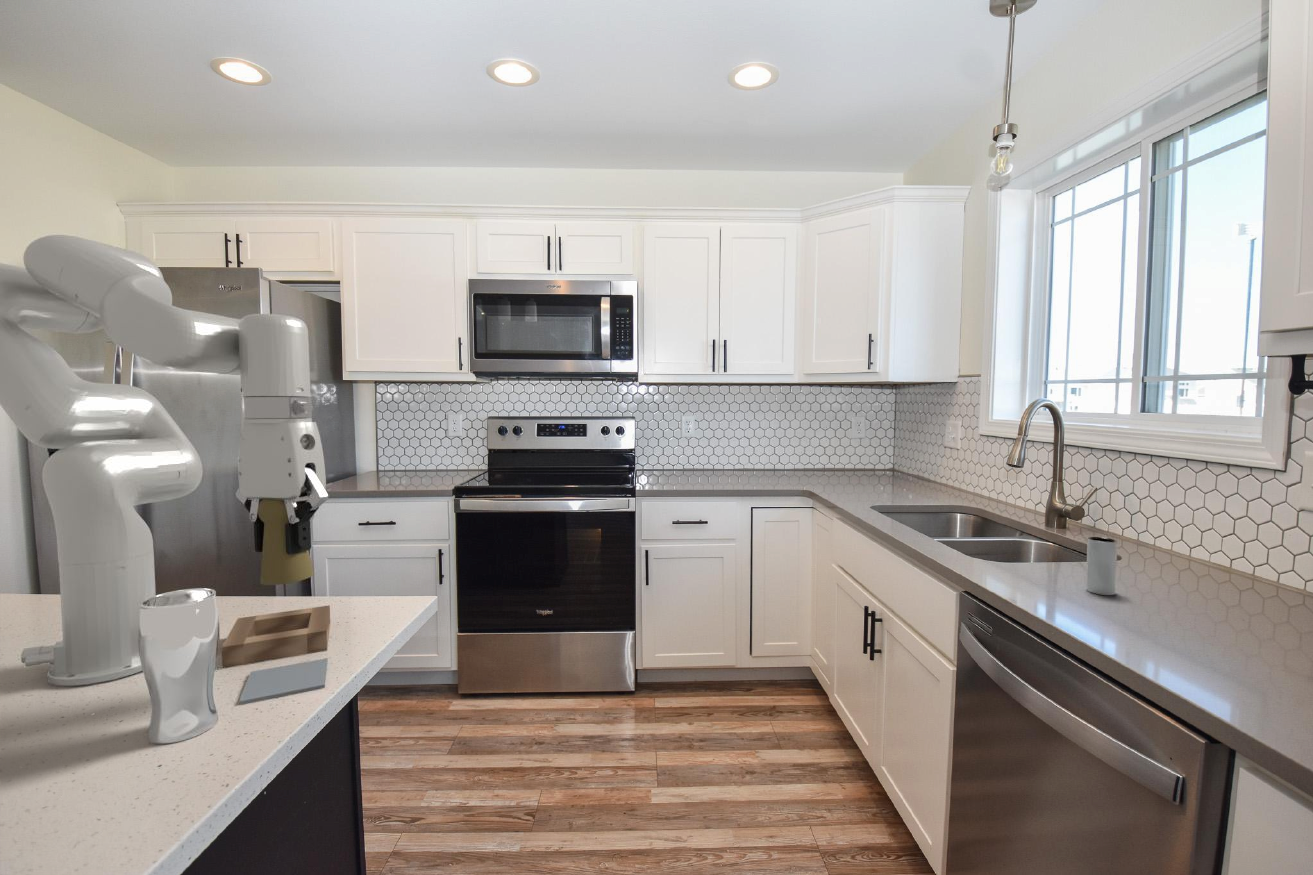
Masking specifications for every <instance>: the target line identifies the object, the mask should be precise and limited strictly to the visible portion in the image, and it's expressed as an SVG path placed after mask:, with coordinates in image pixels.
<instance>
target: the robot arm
mask: <svg viewBox="0 0 1313 875" xmlns="http://www.w3.org/2000/svg"><path fill="white" fill-rule="evenodd" d="M23 265H24V267H23V266H22V267H21V266H17V265H11V264H6V263H1V262H0V406H1V408H2V409H3V411H4V412H5V413H6V414H7V416H8V417H9V419H10V420H11V421H12V423H13V424H14V425H15V426H16V427H17V429H18V430H19V431H20V433H21V434H22V435H23V436H24V438H25V439H27V440H28V441H29V442H31V443H32V444H33V445H36V446H38V447H41V448H43V449H44V448H45V449H52V450H55V449H58V450H57V451H55V452H54V453H52V454H51V455H50V456H49V458H47V460H46V461H45V463H44V465H43V469H42V471H41V472H42V473H41V474H42V475H41V478H42V484H43V488H44V492H45V495H46V498H47V501H48V504H49V507H50V509H51V514H52V517H53V521H54V522H53V523H54V528H55V536H56V544H57V546H56V547H57V559H58V560H57V561H58V569H59V571H58V572H59V592H60V606H61V607H60V608H61V609H60V610H61V611H60V612H61V627H62V628H61V629H62V630H61V632H62V640H60V641H57V642H55V643H54V644H53V645H46V646H45V645H41V646H33V647H26V648H23V650H22V651H21V655H20V660H21V663H22V664H24V665H25V667H27V668H28V667H32V666H40V665H43V664H48V663H49V664H50V665H53V666H52V667H50V669H48V671H47V681H48V683H50V684H52V685H55V686H60V687H61V686H63V687H72V686H74V687H75V686H76V687H77V686H84V685H85V686H86V685H92V684H98V683H102V682H108V681H112V680H117V679H121V678H124V677H128V676H131V675H134V674H138V673H140V672H143V670H142V666H141V662H140V657H139V649H138V619H139V603H140V602H141V601H143V600H145V599H147V598H149V597H152V596H155V595H157V594H156V578H155V577H156V574H155V555H154V554H155V553H154V552H155V550H154V539H153V535H152V534H153V533H152V532H151V528H150V527H149V526H148V524H147V523H146V521H145V520H144V518H142V517H141V516H140V515H139V513H138V512H137V511H136V509H135V506H139V505H145V504H150V503H151V504H152V503H157V502H164V501H170V500H175V499H179V498H183V497H185V496H188V495H189V494H191V493H192V492H194V491H195V490H196V489H197V488H198V486H199V485H200V484H201V481H202V478H203V472H204V470H203V464H202V461H201V457H200V455H199V453H198V452H197V450H196V448H195V447H194V445H193V444H192V443H191V441H190V440H189V438H188V437H187V435H185V433H184V432H183V431H182V429H181V428H180V426H178V424H177V423H176V422H175V420H174V419H173V417H172V416H171V415H170V413H169V412H168V411H167V410H166V408H165V407H164V406H163V405H162V404H161V402H160V401H159V400H158V399H157V398H156V397H155V396H154V395H152V394H151V393H149V392H147V391H146V390H144V389H142V388H140V387H137V386H133V385H128V384H124V383H123V384H121V383H106V382H105V383H104V382H93V381H89V380H85V379H83V378H81V377H80V376H78V375H77V374H76V373H75V372H74V370H72V368H71V367H70V366H69V364H68V363H67V362H66V360H65V359H64V357H62V355H61V354H60V353H58V352H57V351H56V350H55V349H54V348H52V347H51V346H50V345H48V344H47V343H46V342H45V341H42V340H41V339H39V338H38V337H35V336H33V335H32V334H30V333H29V332H26V330H24V329H30V330H31V329H32V330H40V331H41V330H42V331H48V332H49V331H51V332H57V333H58V332H59V333H67V334H88V333H93V332H96V331H99V330H102V329H104V331H105V333H106V335H107V336H108V338H109V339H110V340H111V341H112V342H113V344H115V345H116V346H118V347H120V348H121V349H123V350H125V351H127V352H129V353H130V354H132V355H133V356H136V357H138V358H140V359H142V360H144V361H146V362H148V363H150V364H152V365H155V366H158V367H159V368H160V367H161V368H164V369H167V370H172V371H178V372H191V373H206V374H207V373H209V374H218V375H231V376H239V377H240V378H239V379H240V397H241V398H240V400H241V421H242V422H241V428H240V432H239V439H238V440H239V442H238V454H237V456H238V458H237V462H238V464H237V469H238V470H237V471H238V472H237V473H238V474H237V476H238V488H237V490H236V492H235V497H236V498H237V499H238V501H240V502H241V503H242V504H243V506H244V508H245V509H246V510H247V512H248V513H249V519H250V521H251V522H252V523H253V534H254V535H253V537H254V551H255V552H256V553H262V551H263V536H264V522H263V521H262V520H261V519H260V517H259V515H258V506H259V503H260V502H261V501H262V500H263V499H276V500H284V501H285V505H286V510H287V514H288V518H289V522H290V523H287V524H285V536H286V552H287V554H291V555H292V554H296V553H300V552H303V551H307V550H309V551H310V550H311V549H312V536H311V535H312V532H311V530H312V529H311V521H312V520H314V518H315V513H316V512H317V511H318V509H319V508H320V507H321V506H322V505H323V504H324V503H325V502H326V501H327V500H329V494H328V492H327V491H326V489H327V479H326V477H327V476H326V467H325V466H326V465H325V457H324V450H323V444H322V438H321V435H320V431H319V427H318V425H317V422H316V421H313V420H312V418H313V417H312V411H313V410H314V406H313V404H312V402H311V401H312V398H311V397H312V396H311V371H310V344H309V330H308V327H307V324H306V323H305V322H304V321H303V320H302V319H300V318H297V317H295V316H291V315H284V314H278V313H252V314H248V315H244V316H243V317H242V318H241V319H239V318H234V317H228V316H224V315H220V314H219V315H218V314H215V313H210V312H209V313H208V312H202V311H196V310H191V309H184V308H180V307H178V306H175V305H172V304H173V295H172V291H171V288H170V287H169V285H168V284H167V283H166V281H165V279H164V275H163V273H162V272H161V270H160V268H159V267H158V265H156V264H155V262H153V261H152V260H151V259H150V258H148V257H147V256H144V255H143V254H141V253H139V252H136V251H133V250H129V249H126V248H122V247H118V246H115V245H114V246H113V245H111V244H107V243H102V242H99V241H95V240H91V239H88V238H84V237H80V236H79V237H78V236H74V235H67V234H66V235H65V234H51V235H45V236H42V237H39V238H37V239H34V240H33V241H31V243H29V244H28V245H27V246H26V248H25V250H24V253H23ZM22 328H23V329H22ZM299 496H300V497H299ZM298 502H301V506H300V507H299V508H298V509H297V505H296V503H298Z"/></svg>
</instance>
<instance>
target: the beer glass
mask: <svg viewBox="0 0 1313 875" xmlns="http://www.w3.org/2000/svg"><path fill="white" fill-rule="evenodd" d="M216 593H217V591H216V590H215V589H213V588H205V587H203V588H202V587H200V588H199V587H198V588H197V587H196V588H186V589H185V588H184V589H179V590H173V591H168V592H163V593H160V594H156V595H155V596H152V597H149V598H147V599H145V600H143V601H141V602H140V603H139V619H138V649H139V657H140V662H141V666H142V670H143V671H142V673H143V677H144V680H145V683H146V686H147V690H148V694H149V698H150V704H151V712H150V714H151V715H150V721H149V722H150V723H149V727H148V732H147V740H148V742H150V743H152V744H155V745H156V744H157V745H168V744H174V743H179V742H180V743H181V742H183V741H186V740H190V739H193V738H195V737H198V736H199V735H200V736H201V735H202V734H204V733H206V732H207V731H210V730H211V729H212V728H213V727H214V726H215V725H216V724H217V723H218V721H219V714H218V713H219V712H218V710H217V706H216V703H215V699H214V688H213V687H214V676H215V671H216V665H217V659H218V654H219V653H218V652H219V647H220V646H219V644H220V617H219V616H220V615H219V608H218V604H217V603H218V602H217V594H216Z"/></svg>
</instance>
